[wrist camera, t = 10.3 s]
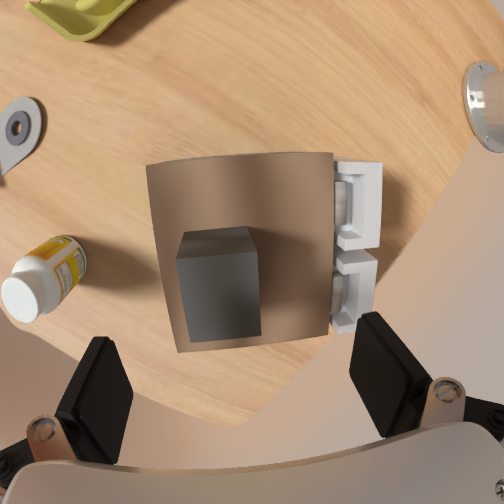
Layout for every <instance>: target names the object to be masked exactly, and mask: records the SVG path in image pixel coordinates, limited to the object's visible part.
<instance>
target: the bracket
mask: <svg viewBox="0 0 504 504" xmlns="http://www.w3.org/2000/svg"><path fill="white" fill-rule="evenodd" d="M18 121H20V123H21V131H20V133H19V134H18V135H16V133H15V126H16V124H17V122H18ZM41 127H42V116H41V111H40V108H39V106H38V104H37V103H36V102H35V101H34V100H33V99H31V98H29V97H21V98H18V99H16V100H14V101H13V102H12V103H11V104H10V105H8V106H7V107H6V108H5V109H4V110H3V111H2V112H1V113H0V162H1V165H2V170H1V171H0V173H1V177H2V176H3V175H4V174H5V173H6V172H8V171H9V170H10V169H11V168H12V167H14V166H15V165H16V164H17V163H19V162H20V161H21V160H22V159H24V158H25V157H26V156H27V155H28V154H29V153H31V151H32V150H33V149H34V147H35V146H36V144H37V142H38V139H39V136H40V133H41Z"/></svg>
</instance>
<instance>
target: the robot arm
mask: <svg viewBox="0 0 504 504" xmlns="http://www.w3.org/2000/svg"><path fill="white" fill-rule="evenodd" d="M463 98H464V105H465V110H466V114H467V118H468V120H469V123H470V126H471V128H472V130H473V132H474V134H475V136H476V137H477V139H478V140H479V142H480V143H481V144H482V145H483V146H484V147H485V148H486V149H488V150H489V151H492V152H497V153H502V152H504V71H499V70H498V69H497V68H496V67H495V66H493V65H492V64H490V63H488V62H476V63H473V64H472V65H470V67H469V68H468V69H467V71H466V74H465V77H464V82H463ZM349 373H350V377H351V379H352V381H353V383H354V385H355V387H356V389H357V391H358V393H359V395H360V397H361V399H362V400H363V403H364V404H365V406H366V408H367V410H368V412H369V414H370V416H371V418H372V420H373V422H374V424H375V426H376V428H377V430H378V432H379V434H380V436H381V437H382V438H384V437H385V438H386V439H383V440H380V441H376V442H374V443H370V444H366V445H362V446H359V447H355V448H351V449H347V450H343V451H339V452H335V453H331V454H326V455H322V456H317V457H311V458H307V459H301V460H296V461H289V462H283V463H276V464H268V465H259V466H250V467H238V468H222V469H155V468H140V467H128V466H117V465H114V464H116V463H117V461H118V458H119V454H120V449H121V445H122V440H123V436H124V432H125V427H126V423H127V419H128V415H129V411H130V407H131V404H132V400H133V390H132V387H131V385H130V382H129V380H128V377H127V375H126V372H125V370H124V367H123V365H122V362H121V359H120V357H119V354H118V351H117V349H116V346H115V343H114V341H113V340H110V339H109V337H93V339H92V340H91V342H90V344H89V346H88V348H87V350H86V352H85V353H84V355H83V357H82V359H81V361H80V363H79V365H78V367H77V369H76V371H75V373H74V375H73V377H72V379H71V381H70V383H69V385H68V387H67V389H66V391H65V393H64V395H63V397H62V399H61V401H60V403H59V406H58V408H57V410H56V413H55V415H54V416H52V415H48V414H47V415H40V416H37V417H36V418H34V419H33V420H32V421H31V422H30V423H29V425H28V426H27V431H26V434H27V438H26V439H24V440H22V441H20V442H18V443H16V444H14V445H12V446H9V447H7V448H5V449H3V450H1V451H0V504H504V405H502V404H498V403H493V402H489V401H485V400H480V399H476V398H472V397H468V396H466V393H465V389H464V387H463V385H462V384H461V383H460V382H459V381H457V380H455V379H452V378H449V377H441V378H438V379H436V380H434V381H433V380H432V378H431V377H430V375H429V374H428V373H427V372H426V370H425V369H424V368H423V367H422V365H421V364H420V363H419V362H418V360H417V359H416V358H415V357H414V355H413V354H412V353H411V352H410V350H409V349H408V348H407V347H406V345H405V344H404V343H403V342H402V340H401V339H400V338H399V337H398V336H397V334H396V333H395V332H394V331H393V330H392V328H391V327H390V326H389V325H388V324H387V323H386V321H385V320H384V319H383V318H382V317H381V315H380V314H379V313H378V312H376V311H375V312H369V313H363V314H362V316H361V318H358V320H357V326H356V332H355V339H354V346H353V351H352V357H351V362H350V368H349Z"/></svg>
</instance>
